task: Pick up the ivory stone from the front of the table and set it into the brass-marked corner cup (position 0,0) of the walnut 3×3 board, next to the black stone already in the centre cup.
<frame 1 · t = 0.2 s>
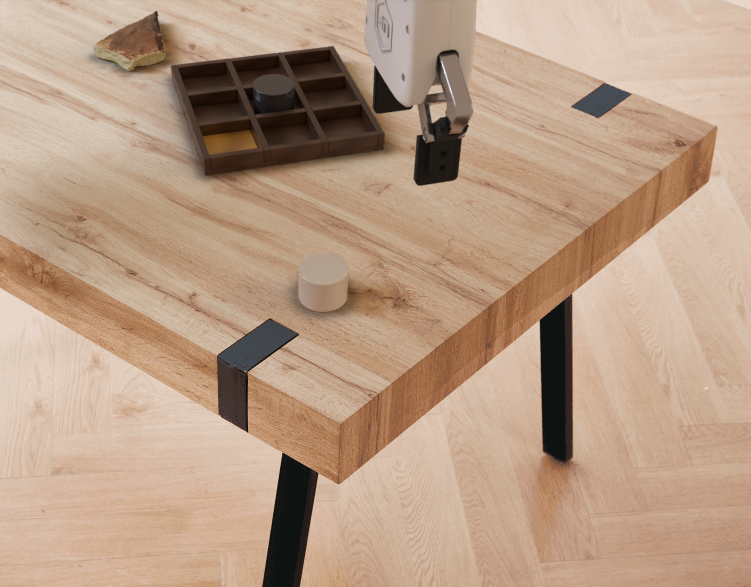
hand: (413, 144, 81), 19 cm above the table, tool pointing down, fingers open, 9 cm apart
black stone: (274, 109, 117), resting on board
ivory stone: (322, 295, 96), on the table
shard: (129, 49, 127), on the table
board: (274, 113, 117), on the table
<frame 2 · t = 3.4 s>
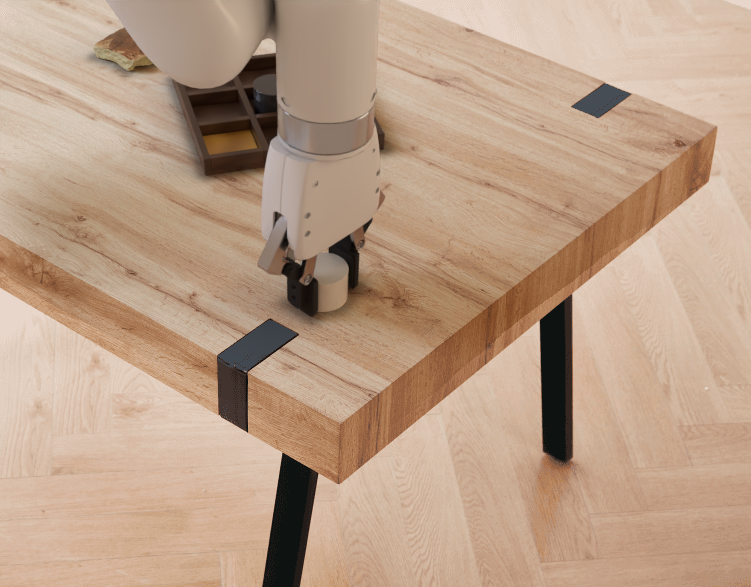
hand: (322, 292, 95), 0 cm above the table, tool pointing down, fingers closed on ivory stone, 4 cm apart
ivory stone: (322, 295, 96), on the table, touching gripper
everything else where it was.
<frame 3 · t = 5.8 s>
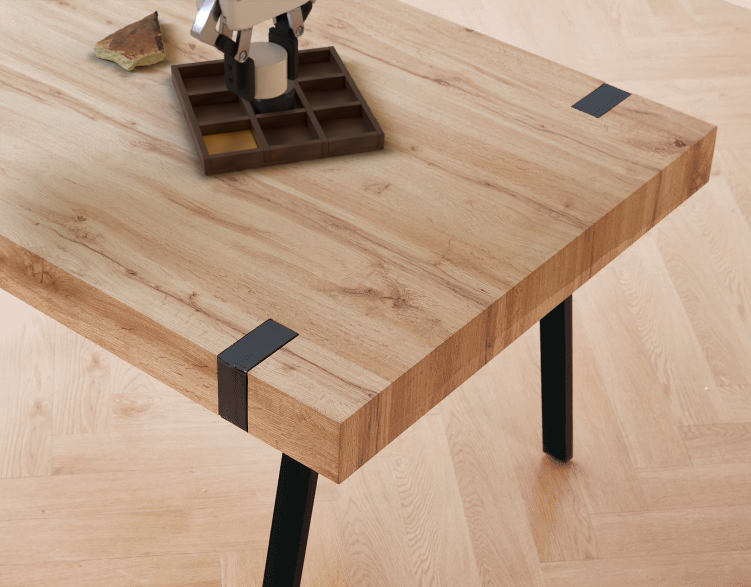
hand: (262, 82, 95), 14 cm above the table, tool pointing down, fingers closed on ivory stone, 4 cm apart
ivory stone: (262, 86, 95), point 14 cm above the table, touching gripper
everything else where it was.
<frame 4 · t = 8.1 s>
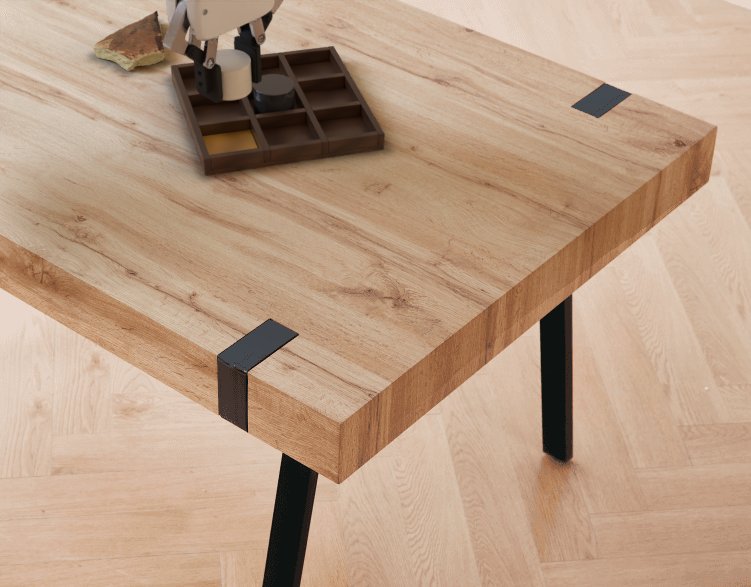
hand: (229, 85, 106), 8 cm above the table, tool pointing down, fingers closed on ivory stone, 4 cm apart
ivory stone: (229, 88, 107), point 8 cm above the table, touching gripper
everything else where it was.
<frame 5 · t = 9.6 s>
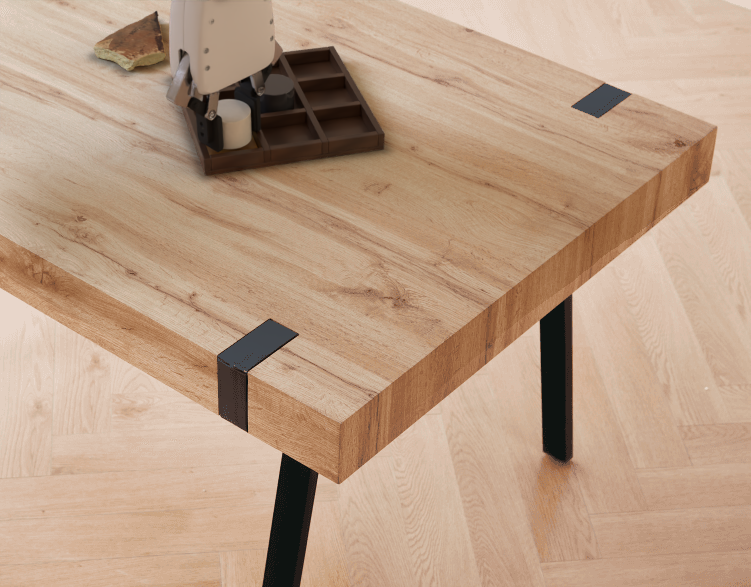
hand: (229, 134, 110), 2 cm above the table, tool pointing down, fingers closed on ivory stone, 4 cm apart
ivory stone: (230, 137, 110), point 2 cm above the table, touching gripper
everything else where it was.
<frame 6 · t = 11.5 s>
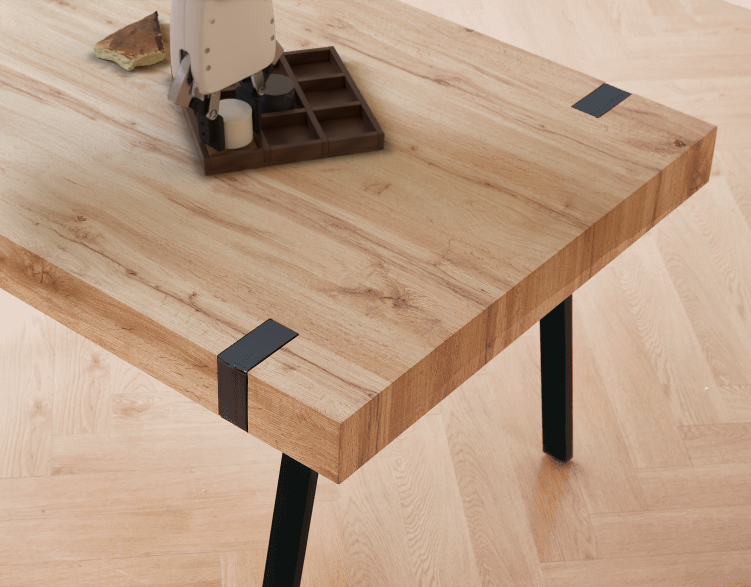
hand: (231, 134, 110), 2 cm above the table, tool pointing down, fingers closed on ivory stone, 4 cm apart
ivory stone: (231, 137, 110), point 2 cm above the table, touching gripper
everything else where it was.
when the fingers open (2 cm above the table, at t = 13.2 s): ivory stone drops 1 cm, resting on board.
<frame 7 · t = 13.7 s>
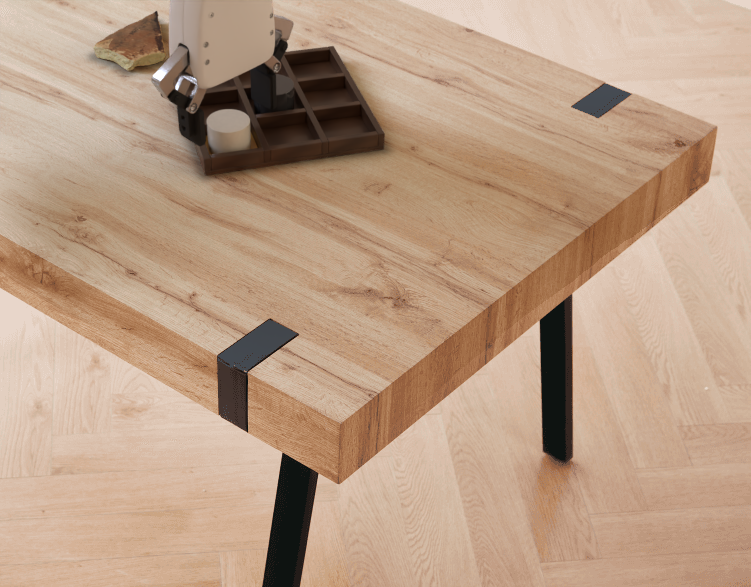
hand: (229, 121, 109), 4 cm above the table, tool pointing down, fingers open, 9 cm apart
ivory stone: (229, 147, 111), point 1 cm above the table, touching board
everything else where it was.
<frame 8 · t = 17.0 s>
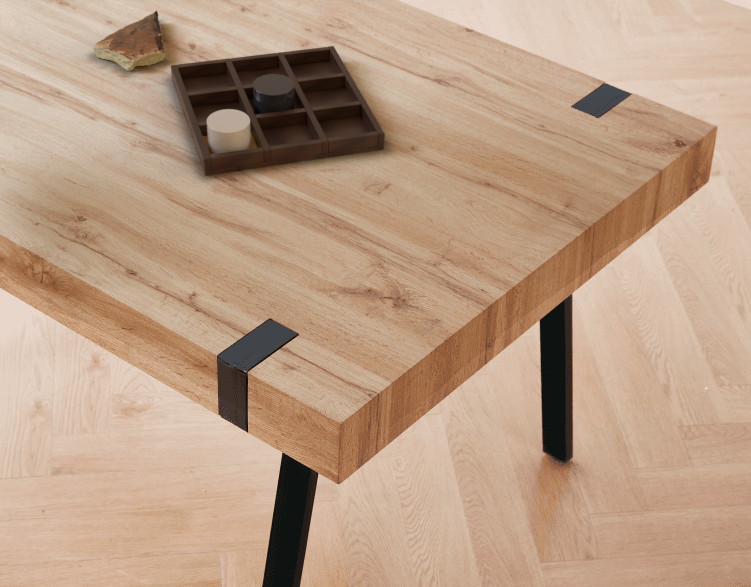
nothing on the table moved.
at the end: ivory stone 0.1 cm from the target spot in the board, point 0.7 cm above the board's base; ivory stone tilted 0°; black stone moved 0.0 cm from its start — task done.
